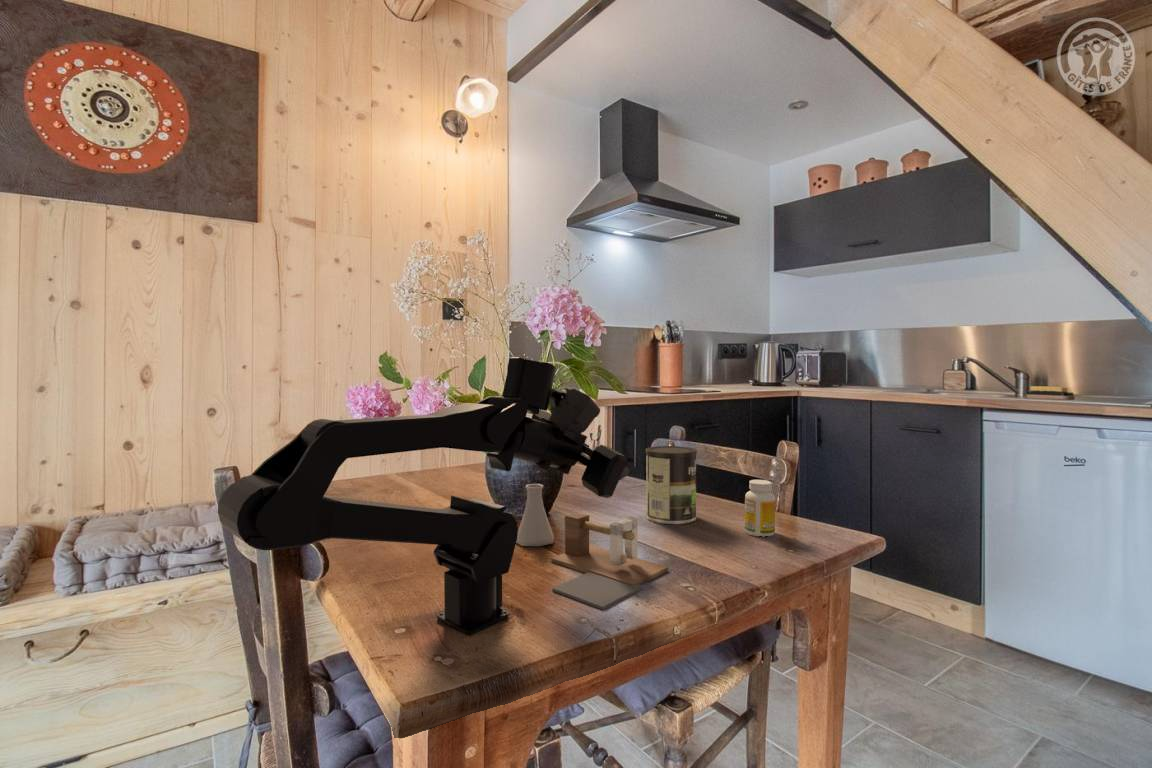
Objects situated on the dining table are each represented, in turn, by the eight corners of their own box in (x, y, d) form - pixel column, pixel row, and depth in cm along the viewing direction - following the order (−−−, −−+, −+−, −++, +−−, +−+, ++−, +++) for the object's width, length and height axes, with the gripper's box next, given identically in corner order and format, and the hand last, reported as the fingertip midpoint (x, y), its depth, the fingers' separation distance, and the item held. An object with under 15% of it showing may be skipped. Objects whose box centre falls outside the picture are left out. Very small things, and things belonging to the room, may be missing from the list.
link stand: (633, 588, 77) (633, 540, 77) (551, 561, 88) (551, 519, 88) (668, 570, 84) (668, 526, 84) (588, 547, 95) (588, 508, 95)
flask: (517, 549, 94) (517, 491, 94) (511, 537, 101) (511, 482, 101) (559, 546, 96) (559, 488, 96) (550, 533, 103) (549, 480, 103)
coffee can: (698, 512, 117) (698, 446, 116) (694, 526, 107) (694, 454, 107) (649, 509, 120) (649, 444, 119) (641, 522, 110) (641, 451, 109)
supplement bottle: (742, 534, 102) (742, 483, 101) (747, 527, 107) (747, 477, 106) (773, 539, 99) (773, 485, 99) (776, 531, 104) (777, 480, 104)
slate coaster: (602, 609, 71) (602, 606, 71) (552, 590, 77) (552, 588, 77) (643, 588, 78) (643, 585, 78) (593, 572, 84) (593, 569, 84)
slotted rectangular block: (617, 566, 82) (617, 526, 82) (610, 564, 83) (609, 524, 82) (637, 557, 86) (637, 518, 85) (630, 554, 86) (629, 517, 86)
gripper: (605, 410, 68) (673, 434, 79) (520, 367, 82) (588, 393, 93) (569, 492, 69) (642, 505, 80) (490, 436, 82) (562, 454, 93)
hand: (606, 460), depth 86 cm, fingers open, 9 cm apart
